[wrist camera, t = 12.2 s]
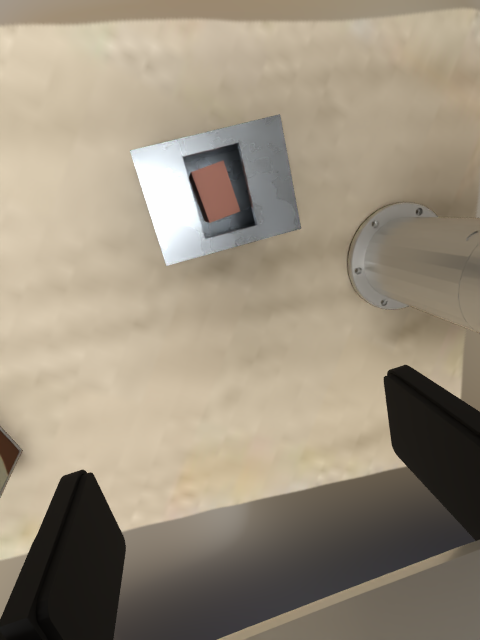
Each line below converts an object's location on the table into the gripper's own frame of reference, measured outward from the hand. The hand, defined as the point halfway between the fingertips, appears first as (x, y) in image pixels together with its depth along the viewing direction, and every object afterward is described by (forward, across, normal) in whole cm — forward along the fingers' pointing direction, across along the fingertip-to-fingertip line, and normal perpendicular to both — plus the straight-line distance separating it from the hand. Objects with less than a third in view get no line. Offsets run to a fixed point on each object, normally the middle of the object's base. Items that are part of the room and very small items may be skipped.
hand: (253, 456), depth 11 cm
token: (+30, -4, -8) cm, 31 cm away
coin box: (+30, -4, -8) cm, 32 cm away
